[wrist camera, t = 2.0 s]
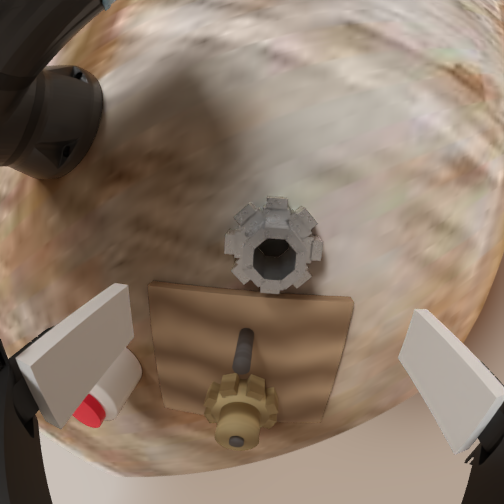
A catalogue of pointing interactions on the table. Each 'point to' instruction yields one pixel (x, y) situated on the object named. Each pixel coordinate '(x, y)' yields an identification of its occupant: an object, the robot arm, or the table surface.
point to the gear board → (274, 351)
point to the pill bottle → (110, 391)
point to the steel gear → (276, 227)
